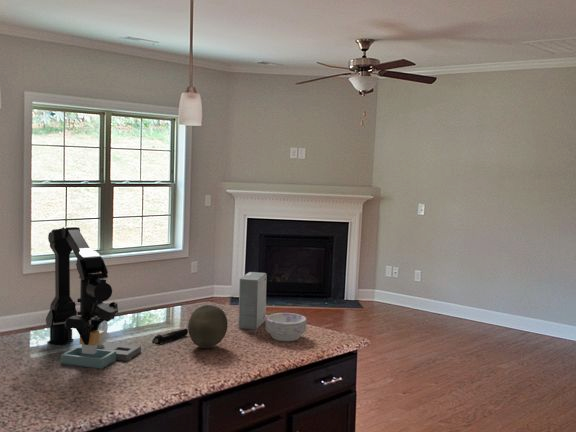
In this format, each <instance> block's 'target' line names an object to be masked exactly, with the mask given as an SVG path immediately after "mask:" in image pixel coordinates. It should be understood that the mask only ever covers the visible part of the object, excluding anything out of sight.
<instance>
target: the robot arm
mask: <svg viewBox="0 0 576 432" xmlns="http://www.w3.org/2000/svg"><path fill="white" fill-rule="evenodd" d="M47 236H48V237H47V238H48V243H49V248H50V249H51V250H52V252H53V254H54V267H55V268H54V271H55V272H54V279H55V280H54V281H55V283H54V284H55V285H54V286H55V293H54V294H55V297H54V298H53V299H52V301H51V303H50V308H49V309H50V310H49V311H48V313H47V315H46V317H45V324H46V326H48V327H49V340H48V341H46V343H47V344H52V345H53V344H54V345H59V346H61V345H62V346H64V345H67V344H69V343H70V342H73V341H74V338H73V329H76V331H77V332H78V333H77V334H79V338H80V337H81V339H82V340H83V342H84V344H85V345H88V343H89V337H90V330H99V327H100V325H101V324H102V323H103V322H110V321H112V320H114V318H115V317H116V314H117V313H119V308H118V307H119V306H118V302H116V301H112V302H110V303H104V302H106V301H108V300H109V299H110V298H111V297H112V294H113V288H112V286H111V284H109V283H108V282H107V279H108V277H109V276H108V274H109V271H108V269H107V266H106V264H105V263H106V262H105V261H104V259H103V257H102V255H100V253H98V251H96V250H93V249H91V248H90V246H89V244H88V242H87V241H86V239H85V238H84V237H83V235H82V232H81V229H80V226H77V225H73V226H72V225H71V226H70V225H67V226H66V225H65V226H64V227H61V228H53V229H52V230H51V231H50V232H49V233H48V235H47ZM72 252H73V254H74V256H75V257H76V262H75V263H76V264H75V265H76V270H77V272H78V274H79V277H78V278H79V279H80V293H79V294H80V295H79V296H80V297H79V298H77V299H76V300H77V303H79V305H80V308H79V309H80V310H77V308H76V302H75V301H73V299H72V297H71V290H70V289H71V276H70V275H71V274H70V273H71V272H70V271H71V269H70V268H71V267H70V266H71V265H70V262H71V258H70V257H71V253H72Z"/></svg>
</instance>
